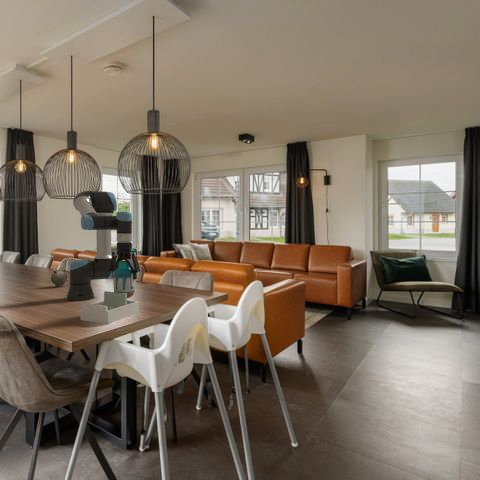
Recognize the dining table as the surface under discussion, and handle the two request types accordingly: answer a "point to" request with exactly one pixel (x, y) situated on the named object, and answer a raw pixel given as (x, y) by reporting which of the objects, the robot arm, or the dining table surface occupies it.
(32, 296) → the dining table surface
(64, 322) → the dining table surface
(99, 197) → the robot arm
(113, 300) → the pusher
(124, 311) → the pusher lane
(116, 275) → the vase
